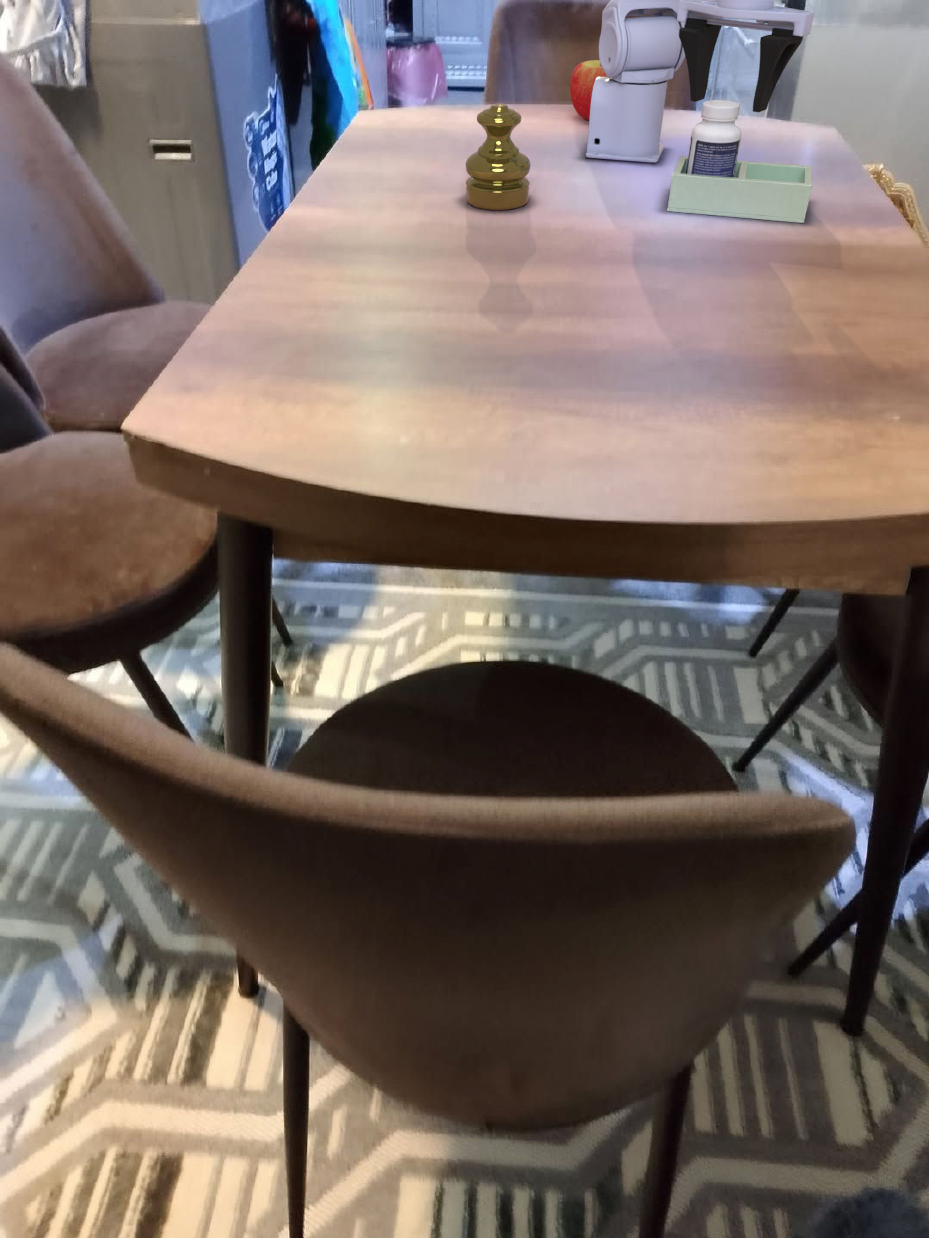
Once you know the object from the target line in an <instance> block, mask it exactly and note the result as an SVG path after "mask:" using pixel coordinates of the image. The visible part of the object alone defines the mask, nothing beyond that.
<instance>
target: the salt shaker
mask: <svg viewBox="0 0 929 1238" xmlns="http://www.w3.org/2000/svg"><path fill="white" fill-rule="evenodd" d="M476 122H477V123H478V124H479V125H480V126H481V128H483V130H484V131H485V134H486V139H485V140H484V142H483V143H482V144H481V145H480V146H479V147H478V148H477V151H475V152H473V153H472V154H470V155H469V157H467V159H466V161H465V170H466V171H465V172H466V173H467V174H468V176H470V177H468V178H467V179H466V180H465V187H466V188H465V189H466V190H465V196H466V197H465V200H466V201H467V203H468V204H469V205H471V206H472V207H475V208H478V209H482V210H488V211H508V210H513V209H517V208H521V207H523V206H524V205H526V204H527V203H528V201H529V196H530V195H529V194H530V193H529V192H530V190H529V189H530V184H531V182H530V181H529V179H528V178H526V177H527V176H528V174H529V173H530V171H531V161H530V159H529V158H528V156H526V155H525V154H524V153H522V152H521V151H520V149H519V147H518V146H516V144H515V143H514V142H513V141H512V139H511V135H512V132H513V131H514V129H515V128H516V127H517V126H518V125H519V124H521V122H522V115H521V113H520V112H517V111H516V110H515V109H513V108H510V107H509V106H508V105H507V104H506V103H493V104H492V105H491V106H490V107H488V108H485V109H483V110H482V111H480V112H479V113H478V114H476Z"/></svg>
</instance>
